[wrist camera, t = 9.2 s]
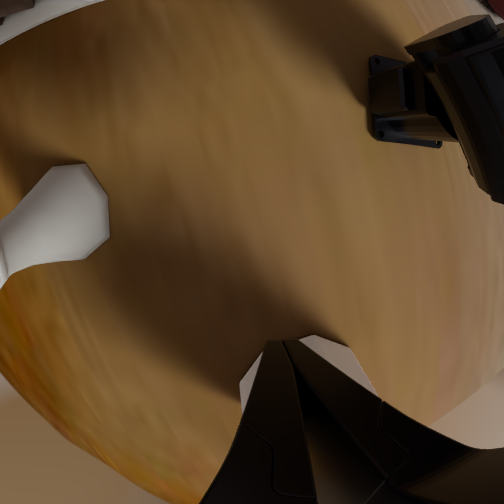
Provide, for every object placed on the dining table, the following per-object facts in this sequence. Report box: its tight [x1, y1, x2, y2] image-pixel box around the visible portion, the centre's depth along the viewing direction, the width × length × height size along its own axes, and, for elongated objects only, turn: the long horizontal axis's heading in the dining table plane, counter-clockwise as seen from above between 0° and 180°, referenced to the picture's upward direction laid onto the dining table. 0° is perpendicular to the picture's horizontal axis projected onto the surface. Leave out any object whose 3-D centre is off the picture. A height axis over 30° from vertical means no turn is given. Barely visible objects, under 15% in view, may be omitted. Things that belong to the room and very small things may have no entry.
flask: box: [0, 164, 110, 289], centre depth 13 cm, size 7×7×10 cm
